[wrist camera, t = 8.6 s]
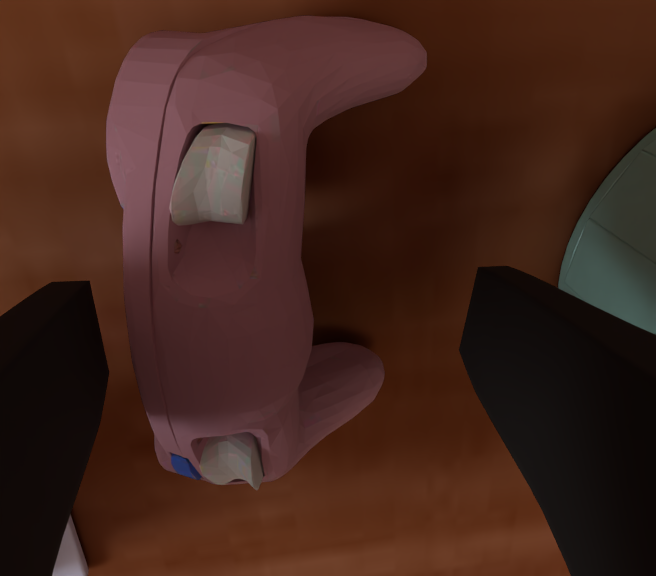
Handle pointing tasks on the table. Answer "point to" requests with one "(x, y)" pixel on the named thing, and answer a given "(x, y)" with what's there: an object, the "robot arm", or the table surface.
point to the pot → (618, 242)
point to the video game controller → (237, 235)
